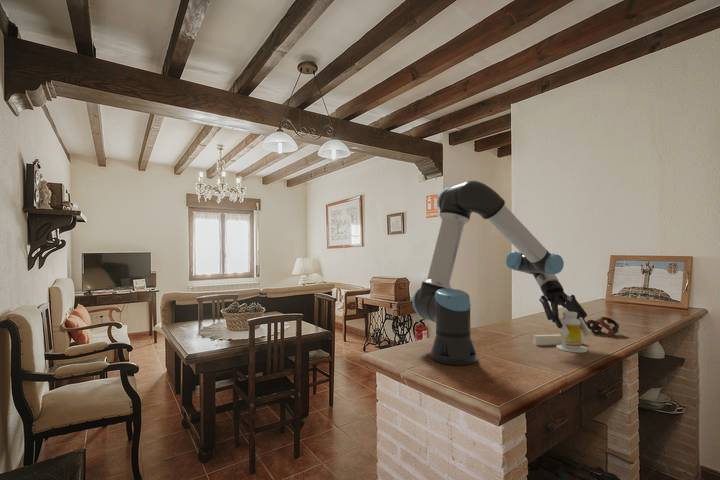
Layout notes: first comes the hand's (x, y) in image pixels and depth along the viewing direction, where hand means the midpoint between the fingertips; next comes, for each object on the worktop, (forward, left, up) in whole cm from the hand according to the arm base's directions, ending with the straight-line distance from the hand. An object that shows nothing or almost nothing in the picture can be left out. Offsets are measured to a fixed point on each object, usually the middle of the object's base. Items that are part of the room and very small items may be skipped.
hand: (577, 334), depth 130 cm
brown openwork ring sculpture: (+27, +23, -6) cm, 36 cm away
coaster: (0, +3, -6) cm, 7 cm away
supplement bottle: (0, +4, -6) cm, 7 cm away
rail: (-1, +10, -6) cm, 12 cm away
